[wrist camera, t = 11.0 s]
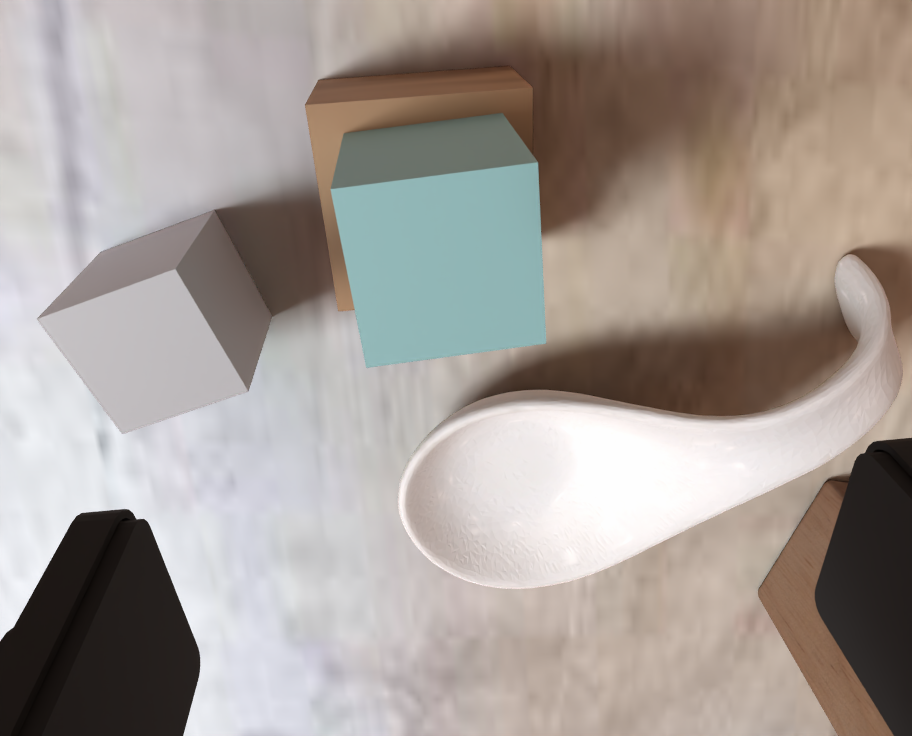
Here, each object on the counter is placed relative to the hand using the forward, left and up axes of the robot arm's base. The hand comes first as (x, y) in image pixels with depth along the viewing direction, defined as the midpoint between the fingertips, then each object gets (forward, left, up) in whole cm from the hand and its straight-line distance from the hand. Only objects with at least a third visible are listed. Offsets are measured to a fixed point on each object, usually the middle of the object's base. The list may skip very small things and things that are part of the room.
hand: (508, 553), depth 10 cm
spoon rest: (+12, +8, -21) cm, 26 cm away
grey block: (+4, -10, -21) cm, 24 cm away
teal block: (0, 0, -16) cm, 16 cm away
